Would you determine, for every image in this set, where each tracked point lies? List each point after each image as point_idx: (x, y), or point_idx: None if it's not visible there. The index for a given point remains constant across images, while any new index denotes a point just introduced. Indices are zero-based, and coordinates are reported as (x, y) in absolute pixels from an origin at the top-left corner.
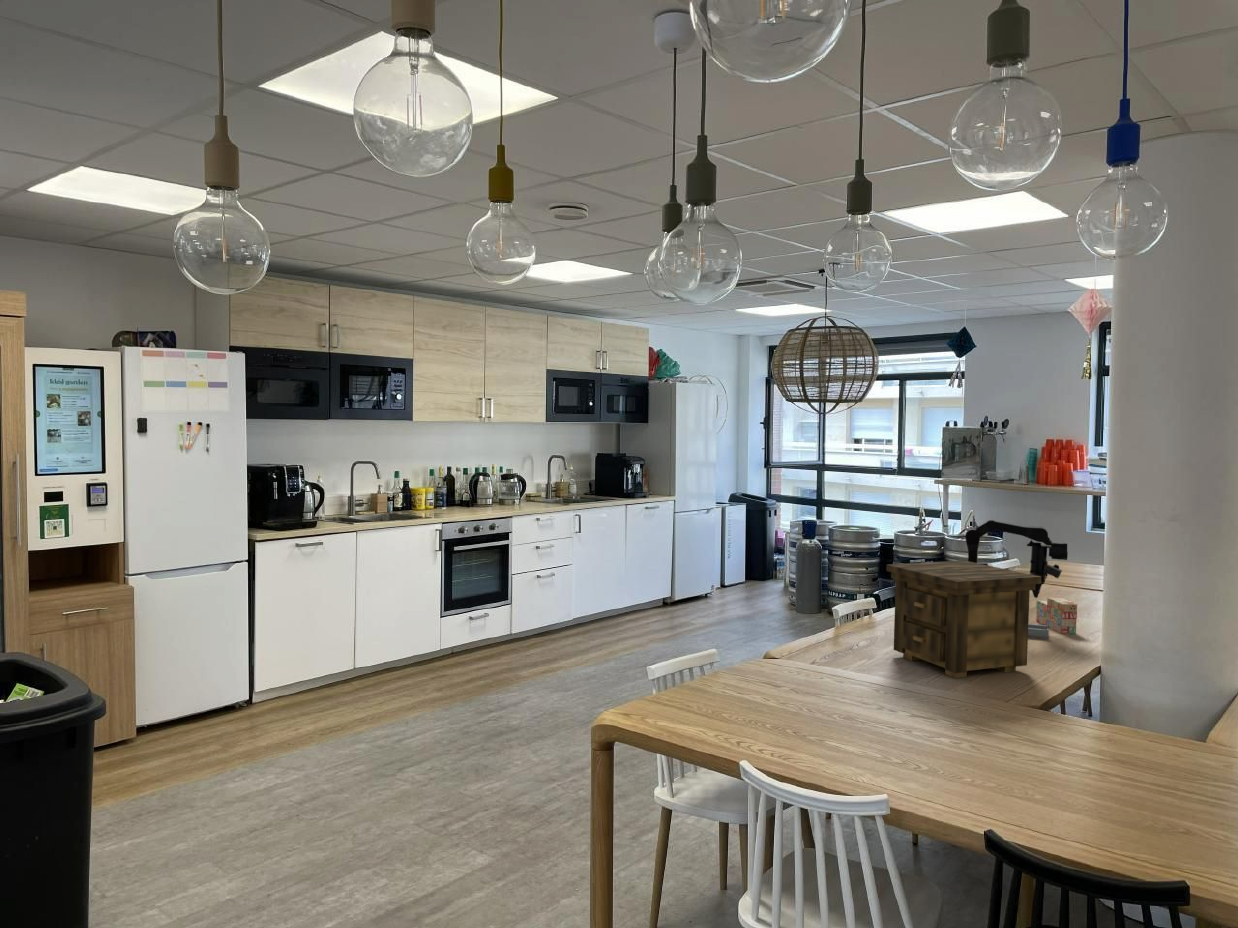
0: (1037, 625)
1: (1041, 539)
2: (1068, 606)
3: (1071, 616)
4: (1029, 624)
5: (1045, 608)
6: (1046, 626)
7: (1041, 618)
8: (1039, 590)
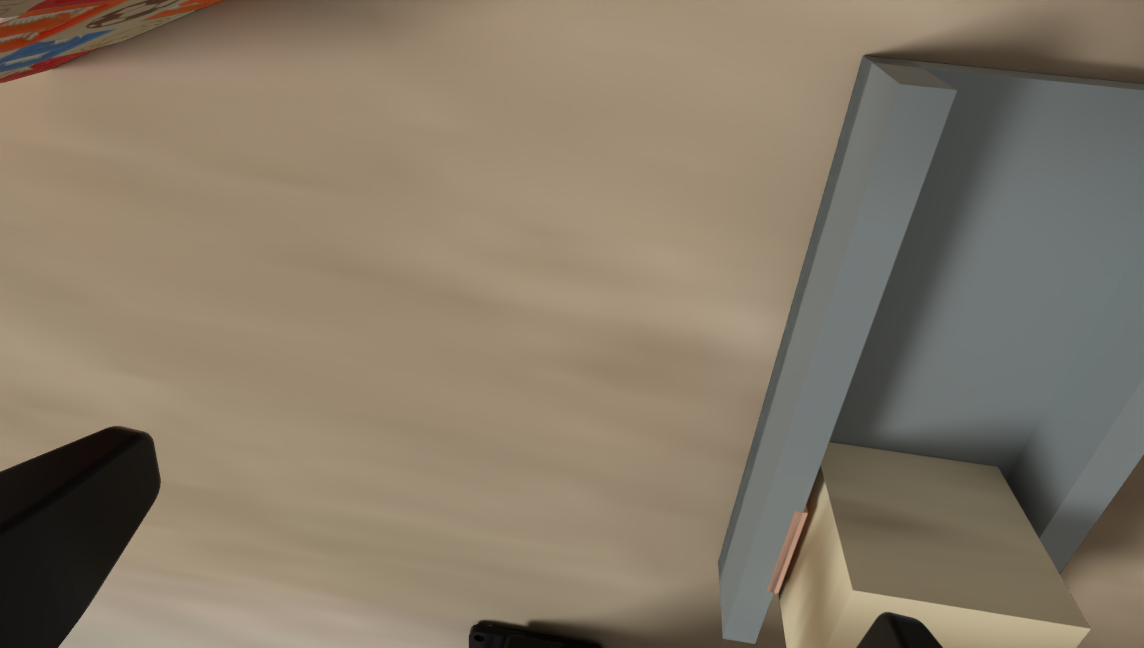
0: (902, 239)
1: None
2: None
3: None
4: (865, 339)
5: (45, 24)
6: (951, 104)
7: (110, 37)
8: (46, 519)
